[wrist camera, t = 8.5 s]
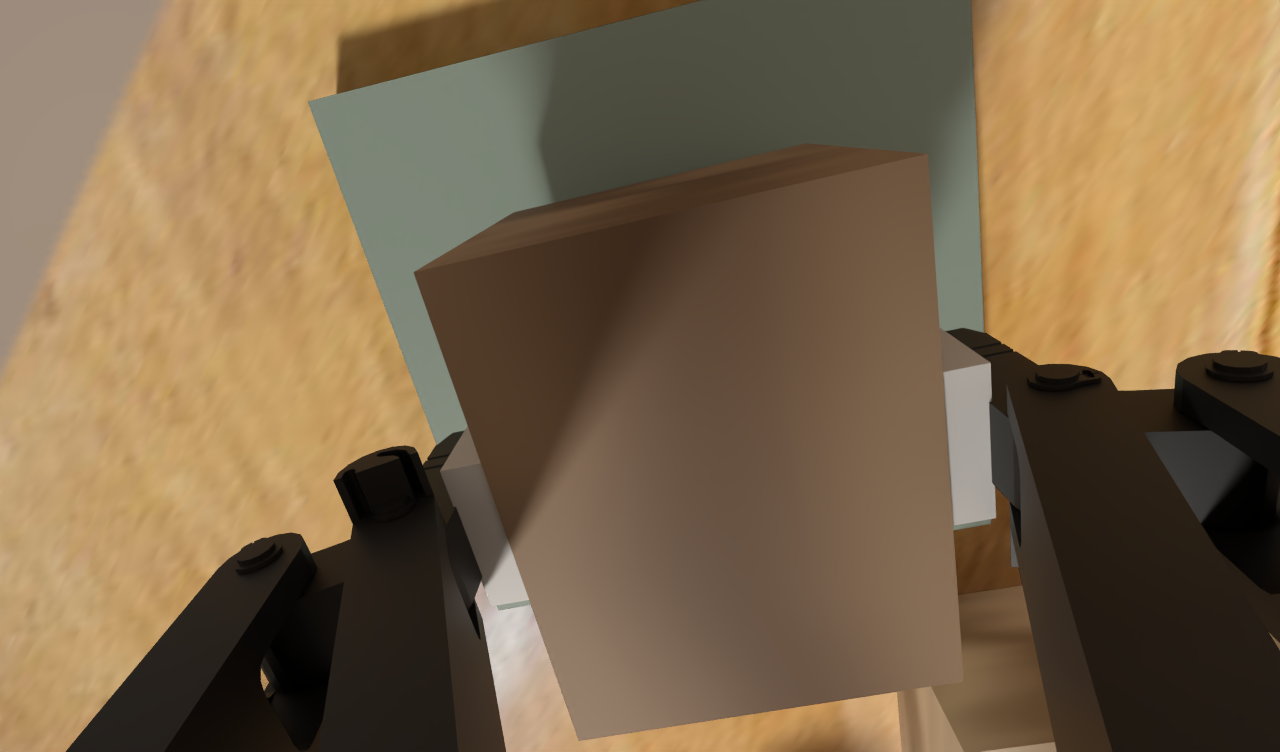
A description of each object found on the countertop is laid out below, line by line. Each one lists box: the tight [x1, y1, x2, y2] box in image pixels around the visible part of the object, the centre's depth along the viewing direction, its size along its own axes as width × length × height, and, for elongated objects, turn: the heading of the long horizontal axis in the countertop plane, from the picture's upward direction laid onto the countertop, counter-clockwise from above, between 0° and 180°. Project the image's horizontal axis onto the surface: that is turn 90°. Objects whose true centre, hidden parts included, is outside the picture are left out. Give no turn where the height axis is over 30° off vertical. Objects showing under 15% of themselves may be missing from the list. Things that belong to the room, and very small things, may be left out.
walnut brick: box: [413, 143, 964, 741], centre depth 13 cm, size 7×9×7 cm
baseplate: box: [308, 0, 991, 610], centre depth 19 cm, size 16×16×2 cm
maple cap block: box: [897, 586, 1057, 752], centre depth 22 cm, size 6×8×6 cm
